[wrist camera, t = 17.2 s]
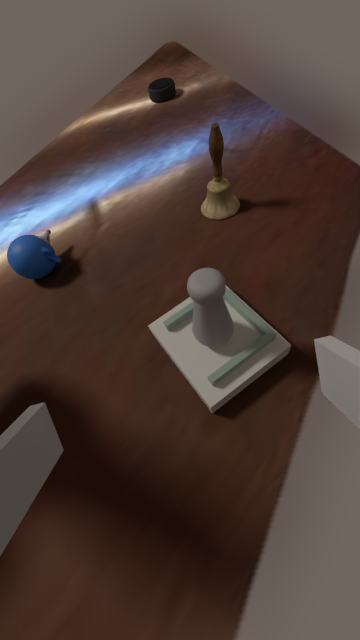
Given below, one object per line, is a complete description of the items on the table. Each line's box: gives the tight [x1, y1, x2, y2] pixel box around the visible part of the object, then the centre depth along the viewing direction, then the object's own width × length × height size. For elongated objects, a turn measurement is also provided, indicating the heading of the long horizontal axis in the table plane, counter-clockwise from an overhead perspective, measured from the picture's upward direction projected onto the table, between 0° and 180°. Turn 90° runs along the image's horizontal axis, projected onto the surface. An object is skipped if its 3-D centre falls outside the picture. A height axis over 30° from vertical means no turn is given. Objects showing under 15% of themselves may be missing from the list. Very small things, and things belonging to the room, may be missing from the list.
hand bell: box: [201, 123, 240, 220], centre depth 54 cm, size 8×8×16 cm
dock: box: [148, 286, 291, 413], centre depth 42 cm, size 16×14×4 cm
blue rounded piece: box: [7, 230, 62, 279], centre depth 57 cm, size 12×12×8 cm
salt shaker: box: [187, 268, 234, 347], centre depth 36 cm, size 6×6×13 cm
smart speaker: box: [148, 78, 176, 102], centre depth 93 cm, size 9×9×4 cm
